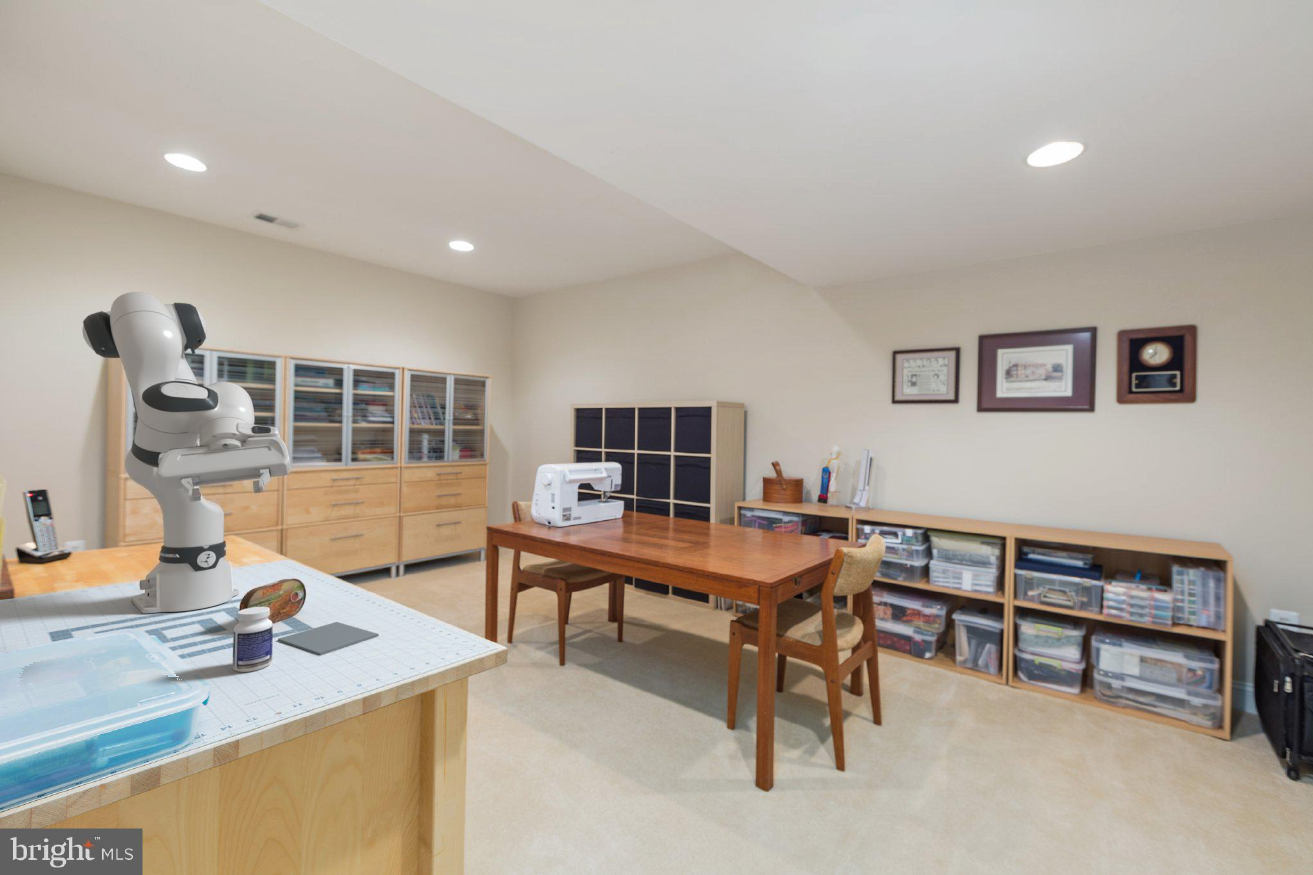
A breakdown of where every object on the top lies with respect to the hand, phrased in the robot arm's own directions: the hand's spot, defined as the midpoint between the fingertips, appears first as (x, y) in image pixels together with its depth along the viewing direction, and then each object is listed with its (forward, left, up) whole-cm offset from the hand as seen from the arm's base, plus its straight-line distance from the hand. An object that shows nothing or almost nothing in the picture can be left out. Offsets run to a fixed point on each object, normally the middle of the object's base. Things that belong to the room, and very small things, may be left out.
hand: (227, 494), depth 104 cm
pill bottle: (+8, +1, -30) cm, 31 cm away
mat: (+6, +16, -30) cm, 34 cm away
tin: (-14, +16, -30) cm, 36 cm away
